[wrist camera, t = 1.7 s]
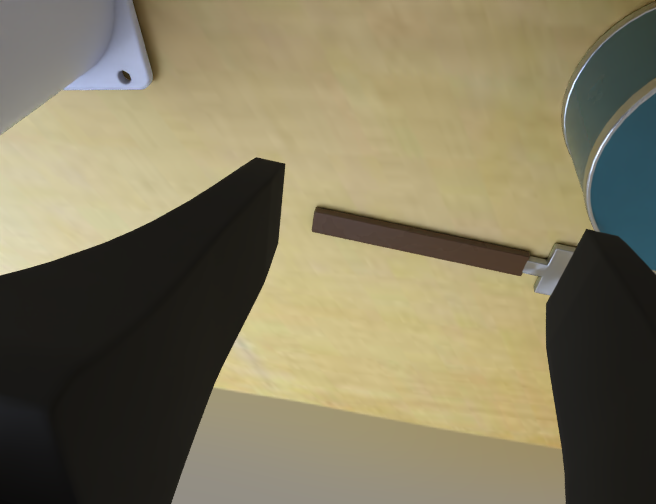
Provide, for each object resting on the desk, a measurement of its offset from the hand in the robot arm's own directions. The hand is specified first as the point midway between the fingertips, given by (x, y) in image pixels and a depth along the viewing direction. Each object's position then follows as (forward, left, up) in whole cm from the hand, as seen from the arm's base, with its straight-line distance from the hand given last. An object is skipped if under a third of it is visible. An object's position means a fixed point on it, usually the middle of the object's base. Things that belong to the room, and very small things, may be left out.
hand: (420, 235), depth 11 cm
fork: (+2, -8, -10) cm, 14 cm away
